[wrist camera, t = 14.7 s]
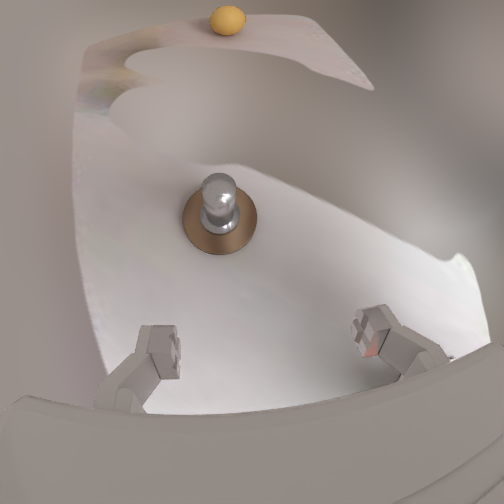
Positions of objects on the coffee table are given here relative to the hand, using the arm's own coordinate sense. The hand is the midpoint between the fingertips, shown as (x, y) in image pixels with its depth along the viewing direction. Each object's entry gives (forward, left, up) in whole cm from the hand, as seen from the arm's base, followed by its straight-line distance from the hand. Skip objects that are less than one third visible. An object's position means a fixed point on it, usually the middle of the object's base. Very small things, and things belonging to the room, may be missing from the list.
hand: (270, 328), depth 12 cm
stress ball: (-1, -76, -32) cm, 83 cm away
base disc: (+2, -17, -31) cm, 36 cm away
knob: (+2, -17, -30) cm, 35 cm away
